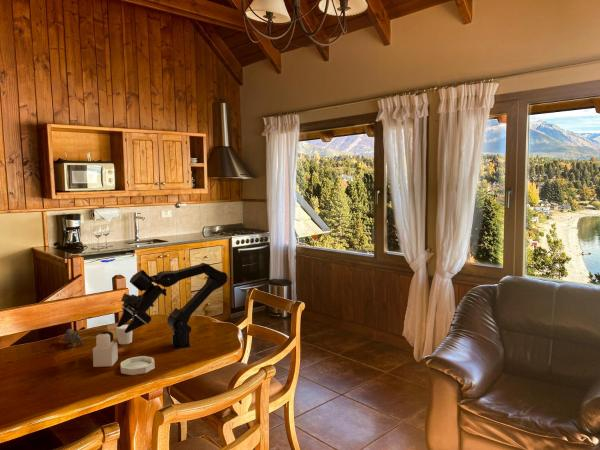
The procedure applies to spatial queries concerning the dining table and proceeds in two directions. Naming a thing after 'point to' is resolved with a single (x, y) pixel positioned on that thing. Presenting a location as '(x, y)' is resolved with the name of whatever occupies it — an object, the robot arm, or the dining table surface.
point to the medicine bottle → (105, 350)
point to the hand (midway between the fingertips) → (121, 329)
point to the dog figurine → (72, 337)
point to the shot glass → (124, 335)
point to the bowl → (137, 365)
